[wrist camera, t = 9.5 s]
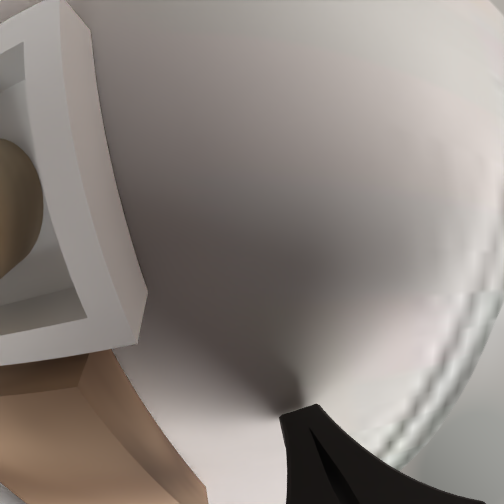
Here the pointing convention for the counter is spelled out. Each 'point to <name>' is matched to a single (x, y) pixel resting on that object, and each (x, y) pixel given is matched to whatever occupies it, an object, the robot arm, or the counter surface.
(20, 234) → the rounded wooden peg
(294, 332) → the counter surface
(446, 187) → the counter surface
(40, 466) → the walnut slab
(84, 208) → the cradle
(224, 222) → the counter surface
